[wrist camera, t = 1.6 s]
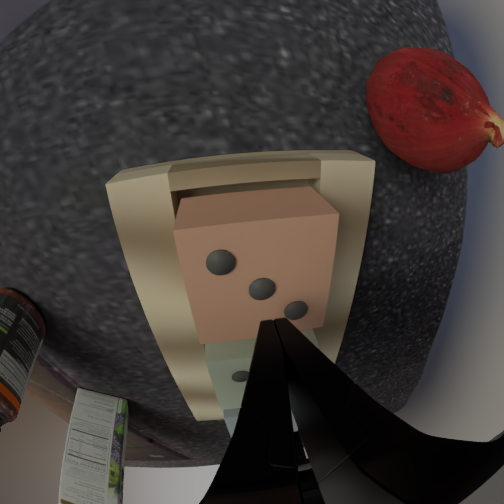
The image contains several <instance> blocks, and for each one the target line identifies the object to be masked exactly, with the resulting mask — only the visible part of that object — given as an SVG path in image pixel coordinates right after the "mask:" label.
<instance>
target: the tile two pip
mask: <svg viewBox="0 0 504 504" xmlns="http://www.w3.org/2000/svg"><path fill="white" fill-rule="evenodd" d="M301 332H302V333H303V334H304V335H305V336H306V337H307V338H308V339H309V340H310V341H311V342H312V343H313V344H314V345H315V346H316V347H317V348H319V344H318V341H317V339H316V337H315V334H314V332H313V329H308V330H302V331H301ZM255 342H256V338H251V339H244V340H236V341H227V342H218V343H209V344H205V359H206V365H207V368H208V371H209V375H210V378H211V381H212V384H213V387H214V390H215V393H216V396H217V399H218V402H219V405H220V408H221V410H225V409H234V408H241V403H242V399H243V394H244V390H245V386H246V382H247V377H248V373H249V369H250V364H251V360H252V356H253V351H254V347H255Z"/></svg>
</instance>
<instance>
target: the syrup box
mask: <svg viewBox="0 0 504 504" xmlns="http://www.w3.org/2000/svg"><path fill="white" fill-rule="evenodd" d="M127 427H128V404H127V400H126V399H122V398H118V397H114V396H109V395H105V394H101V393H97V392H93V391H89V390H85V389H82V388H78V390H77V393H76V397H75V401H74V405H73V409H72V413H71V418H70V422H69V427H68V433H67V438H66V444H65V450H64V456H63V462H62V469H61V478H60V488H59V489H60V490H59V503H58V504H122V500H123V479H124V464H125V450H126V439H127Z"/></svg>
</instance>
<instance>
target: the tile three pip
mask: <svg viewBox="0 0 504 504" xmlns="http://www.w3.org/2000/svg"><path fill="white" fill-rule="evenodd" d="M338 222H339V213H338V212H337V211H336V210H335V209H334V208H333V207H332V206H331V205H330V204H329V203H328V202H327V201H326V200H325V199H324V198H323V197H322V196H321V195H320V194H318V193H317V192H316V191H315V190H314V189H313V188H312V187H294V188H279V189H266V190H254V191H243V192H232V193H223V194H214V195H205V196H196V197H188V198H181V201H180V205H179V209H178V212H177V216H176V220H175V224H174V228H173V233H174V238H175V243H176V248H177V253H178V257H179V262H180V266H181V271H182V275H183V279H184V284H185V288H186V292H187V296H188V300H189V304H190V308H191V312H192V316H193V319H194V323H195V327H196V331H197V334H198V338H199V341H200V344H209V343H218V342H227V341H236V340H244V339H251V338H257V333H258V329H259V324H260V321H262V320H269V319H272V320H274V319H276V318H282V317H285V318H287V319H288V320H289V321H290V322H291V323H292V324H293V325H294V326H295V327H296V328H297V329H298V330H300V331H302V330H308V329H313V328H318V327H323V323H324V318H325V312H326V307H327V301H328V295H329V289H330V283H331V276H332V270H333V263H334V255H335V248H336V240H337V231H338Z"/></svg>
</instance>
